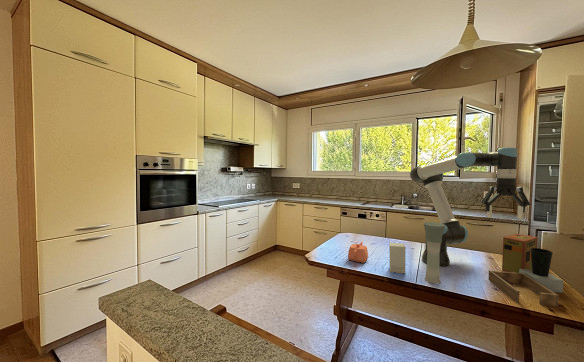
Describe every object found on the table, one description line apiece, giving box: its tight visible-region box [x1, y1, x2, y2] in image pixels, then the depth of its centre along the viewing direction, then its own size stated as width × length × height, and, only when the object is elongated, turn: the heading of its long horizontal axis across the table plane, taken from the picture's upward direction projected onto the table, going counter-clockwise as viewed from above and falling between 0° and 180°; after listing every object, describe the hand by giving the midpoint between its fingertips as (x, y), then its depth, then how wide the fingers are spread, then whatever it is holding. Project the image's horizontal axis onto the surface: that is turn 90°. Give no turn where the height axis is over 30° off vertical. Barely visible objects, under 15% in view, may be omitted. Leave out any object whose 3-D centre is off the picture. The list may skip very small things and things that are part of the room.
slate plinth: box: [519, 269, 564, 294], centre depth 120 cm, size 11×11×6 cm
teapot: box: [347, 241, 369, 264], centre depth 155 cm, size 12×18×10 cm, turn 149°
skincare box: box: [388, 242, 407, 275], centre depth 137 cm, size 8×7×16 cm
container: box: [423, 221, 445, 284], centre depth 125 cm, size 10×10×30 cm
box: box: [501, 233, 539, 273], centre depth 136 cm, size 17×9×20 cm, turn 117°
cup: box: [530, 247, 553, 277], centre depth 119 cm, size 8×8×12 cm
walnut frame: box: [487, 270, 560, 308], centre depth 114 cm, size 15×22×5 cm
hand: (504, 218), depth 125 cm, fingers open, 13 cm apart
